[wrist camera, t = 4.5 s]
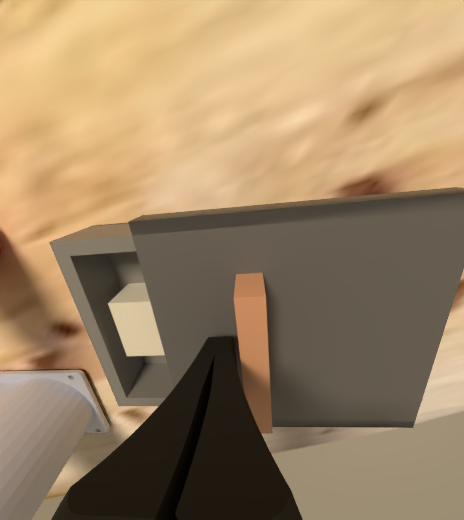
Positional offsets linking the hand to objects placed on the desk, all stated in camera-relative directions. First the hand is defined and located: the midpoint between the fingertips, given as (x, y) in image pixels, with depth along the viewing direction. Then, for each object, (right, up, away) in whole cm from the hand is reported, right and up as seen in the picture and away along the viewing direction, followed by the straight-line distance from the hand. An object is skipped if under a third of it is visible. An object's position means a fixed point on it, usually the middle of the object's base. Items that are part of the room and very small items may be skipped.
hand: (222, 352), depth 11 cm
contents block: (-4, +1, +4) cm, 6 cm away
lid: (+4, +1, +2) cm, 4 cm away
